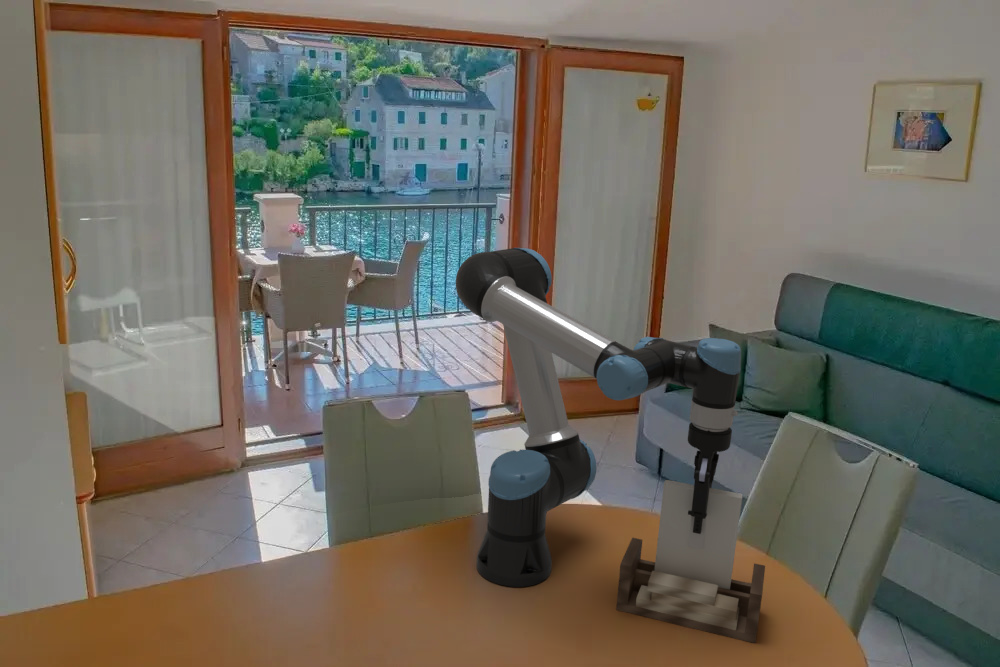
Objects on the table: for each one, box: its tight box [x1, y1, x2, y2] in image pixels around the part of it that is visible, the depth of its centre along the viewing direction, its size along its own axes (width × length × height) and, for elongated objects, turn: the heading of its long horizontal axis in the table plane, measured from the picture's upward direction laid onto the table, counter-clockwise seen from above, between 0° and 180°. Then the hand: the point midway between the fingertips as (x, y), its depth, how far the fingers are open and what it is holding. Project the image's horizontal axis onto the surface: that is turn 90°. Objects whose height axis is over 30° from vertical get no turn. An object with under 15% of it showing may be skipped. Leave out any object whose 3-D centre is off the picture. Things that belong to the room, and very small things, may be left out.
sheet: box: [654, 479, 744, 590], centre depth 153 cm, size 14×2×22 cm, turn 70°
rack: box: [615, 537, 766, 644], centre depth 153 cm, size 25×11×10 cm, turn 70°
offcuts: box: [636, 571, 739, 630], centre depth 150 cm, size 18×5×5 cm, turn 70°
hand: (696, 543), depth 153 cm, fingers closed on sheet, 2 cm apart
